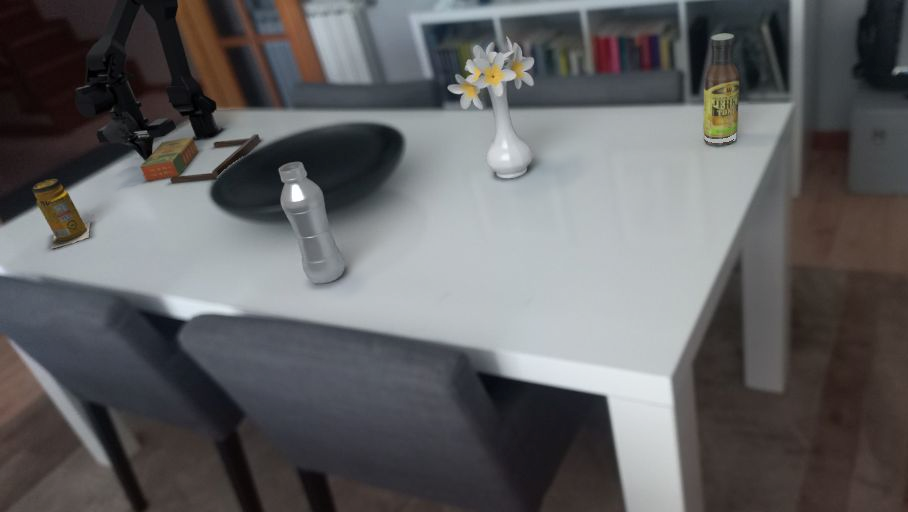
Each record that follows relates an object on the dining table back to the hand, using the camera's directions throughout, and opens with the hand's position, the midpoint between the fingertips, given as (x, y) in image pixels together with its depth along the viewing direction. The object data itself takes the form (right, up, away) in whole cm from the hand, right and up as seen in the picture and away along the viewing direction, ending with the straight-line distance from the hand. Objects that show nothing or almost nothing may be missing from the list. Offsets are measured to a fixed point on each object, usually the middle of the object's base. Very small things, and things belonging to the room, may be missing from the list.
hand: (149, 162), depth 183 cm
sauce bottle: (+131, -3, -43) cm, 137 cm away
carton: (+6, -1, 0) cm, 6 cm away
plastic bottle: (+60, -29, -62) cm, 91 cm away
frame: (+18, 0, -3) cm, 18 cm away
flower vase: (+90, -9, -39) cm, 99 cm away
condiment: (-3, -21, -28) cm, 35 cm away
